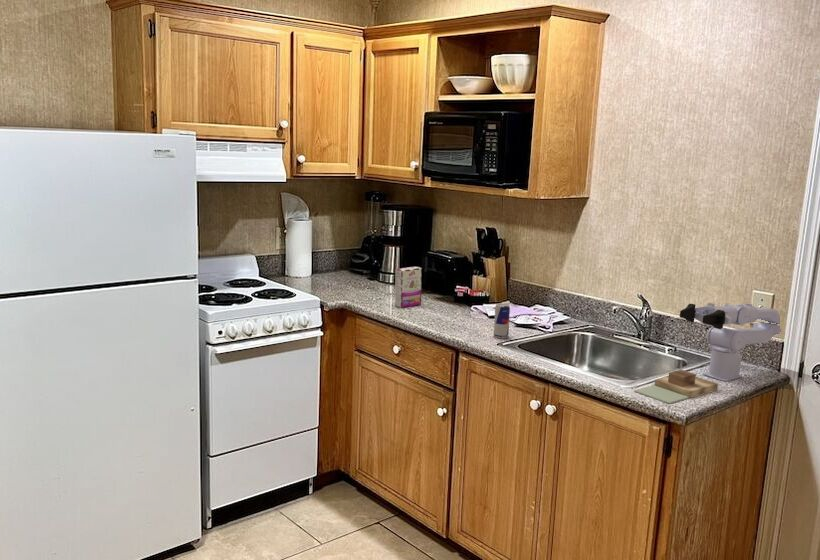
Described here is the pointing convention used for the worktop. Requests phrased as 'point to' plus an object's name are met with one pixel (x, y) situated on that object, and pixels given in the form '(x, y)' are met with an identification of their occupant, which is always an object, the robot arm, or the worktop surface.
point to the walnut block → (681, 378)
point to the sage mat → (661, 394)
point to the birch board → (688, 387)
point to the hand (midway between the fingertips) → (692, 316)
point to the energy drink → (501, 321)
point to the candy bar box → (408, 287)
